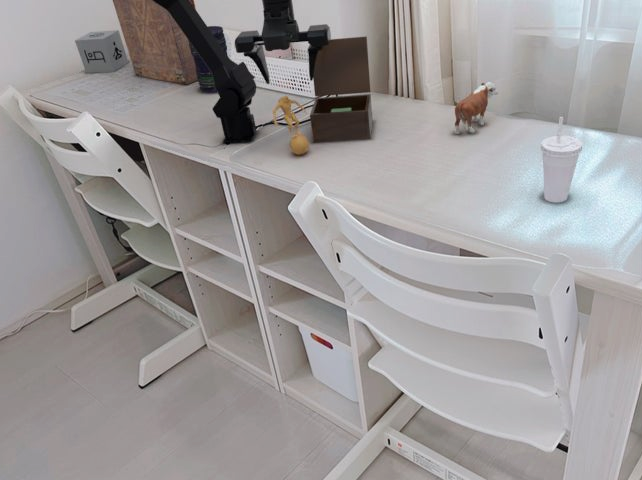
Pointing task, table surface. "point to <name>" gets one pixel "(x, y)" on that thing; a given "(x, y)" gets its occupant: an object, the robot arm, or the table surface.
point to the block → (341, 110)
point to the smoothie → (559, 164)
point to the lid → (342, 67)
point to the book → (155, 42)
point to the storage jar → (201, 68)
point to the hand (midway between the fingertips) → (289, 81)
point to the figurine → (297, 142)
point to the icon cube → (102, 51)
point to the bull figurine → (474, 106)
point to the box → (341, 118)
